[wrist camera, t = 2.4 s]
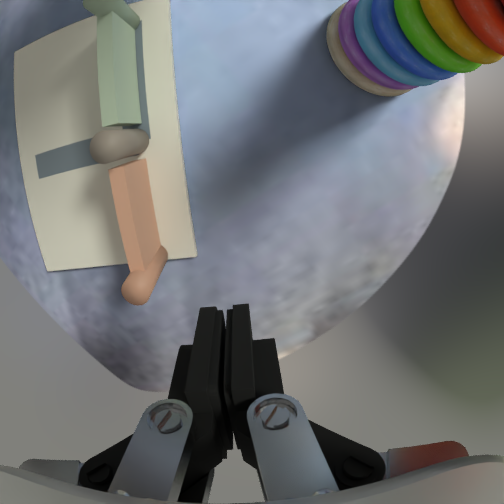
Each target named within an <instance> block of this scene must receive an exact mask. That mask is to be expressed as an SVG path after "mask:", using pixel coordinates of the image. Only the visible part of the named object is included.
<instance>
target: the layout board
mask: <svg viewBox="0 0 504 504" xmlns="http://www.w3.org/2000/svg"><path fill="white" fill-rule="evenodd" d="M128 5H129V7H130V8H131V9H132V10H133V11H134V12H135V13H136V14H137V15H138V16H139V18H140V23H139V26H138V27H137V29H136V30H135V45H136V64H137V78H138V91H139V102H140V112H141V121H142V123H141V124H136V125H132V126H116V127H102V118H101V108H100V97H99V83H98V64H97V16H96V15H94V16H91V17H89V18H86V19H83V20H81V21H78V22H76V23H73V24H71V25H68V26H66V27H64V28H61V29H59V30H57V31H55V32H53V33H50V34H48V35H46V36H44V37H42V38H40V39H38V40H36V41H34V42H32V43H30V44H28V45H27V46H25V47H23V48H21V49H19V50H17V51H16V52H14V101H15V117H16V129H17V139H18V147H19V154H20V161H21V168H22V174H23V179H24V185H25V190H26V195H27V199H28V204H29V208H30V213H31V217H32V221H33V225H34V228H35V232H36V236H37V239H38V243H39V246H40V250H41V253H42V256H43V259H44V263H45V266H46V269H47V271H57V270H67V269H77V268H87V267H97V266H108V265H118V264H128V261H127V257H126V253H125V249H124V245H123V241H122V237H121V232H120V228H119V223H118V219H117V214H116V209H115V204H114V199H113V194H112V188H111V182H110V177H109V171H108V169H111V168H114V167H117V166H119V165H122V164H125V163H128V162H131V161H134V160H139V159H145V158H146V161H147V168H148V175H149V181H150V188H151V194H152V200H153V205H154V211H155V217H156V222H157V227H158V233H159V238H160V243H161V245H162V246H163V247H164V248H165V249H166V250H167V252H168V260H169V259H179V258H189V257H197V248H196V242H195V236H194V229H193V223H192V216H191V210H190V203H189V196H188V189H187V181H186V174H185V166H184V158H183V150H182V142H181V133H180V124H179V115H178V105H177V94H176V83H175V72H174V59H173V45H172V28H171V8H170V0H143V1H139V2H135V3H132V4H128ZM118 129H142V130H144V131H145V132H146V133H147V134H148V136H149V145H148V147H147V149H146V150H145V151H144V152H142V153H140V154H137V155H133V156H130V157H127V158H123V159H120V160H117V161H114V162H111V163H107V164H100V163H98V162H96V161H95V160H94V159H93V158H92V156H91V154H90V142H91V140H92V138H93V137H94V135H95V134H96V133H98V132H100V131H103V130H118Z"/></svg>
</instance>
